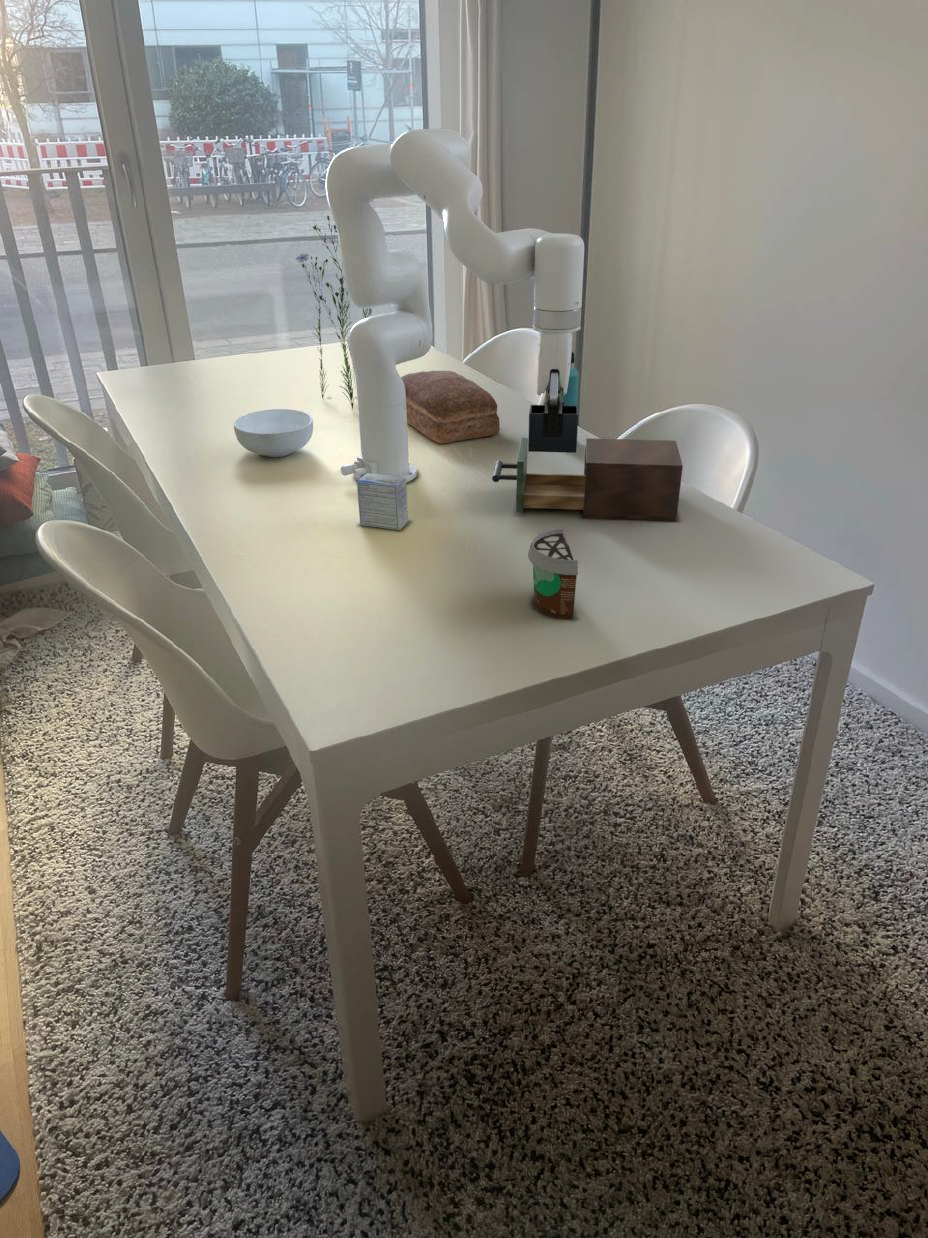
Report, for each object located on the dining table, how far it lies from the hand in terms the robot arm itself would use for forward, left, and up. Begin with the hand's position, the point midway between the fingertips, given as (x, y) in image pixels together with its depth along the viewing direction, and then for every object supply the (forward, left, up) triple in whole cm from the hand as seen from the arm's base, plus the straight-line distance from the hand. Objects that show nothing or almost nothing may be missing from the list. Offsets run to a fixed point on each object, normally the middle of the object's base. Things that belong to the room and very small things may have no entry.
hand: (553, 429), depth 152 cm
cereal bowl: (-17, +69, -19) cm, 74 cm away
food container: (-19, -20, -19) cm, 33 cm away
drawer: (+9, +9, -18) cm, 22 cm away
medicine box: (-21, +21, -19) cm, 35 cm away
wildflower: (+16, +89, -19) cm, 93 cm away
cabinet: (+19, -1, -18) cm, 27 cm away
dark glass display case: (0, 0, -3) cm, 3 cm away
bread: (+23, +61, -19) cm, 68 cm away
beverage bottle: (+35, +33, -19) cm, 52 cm away
